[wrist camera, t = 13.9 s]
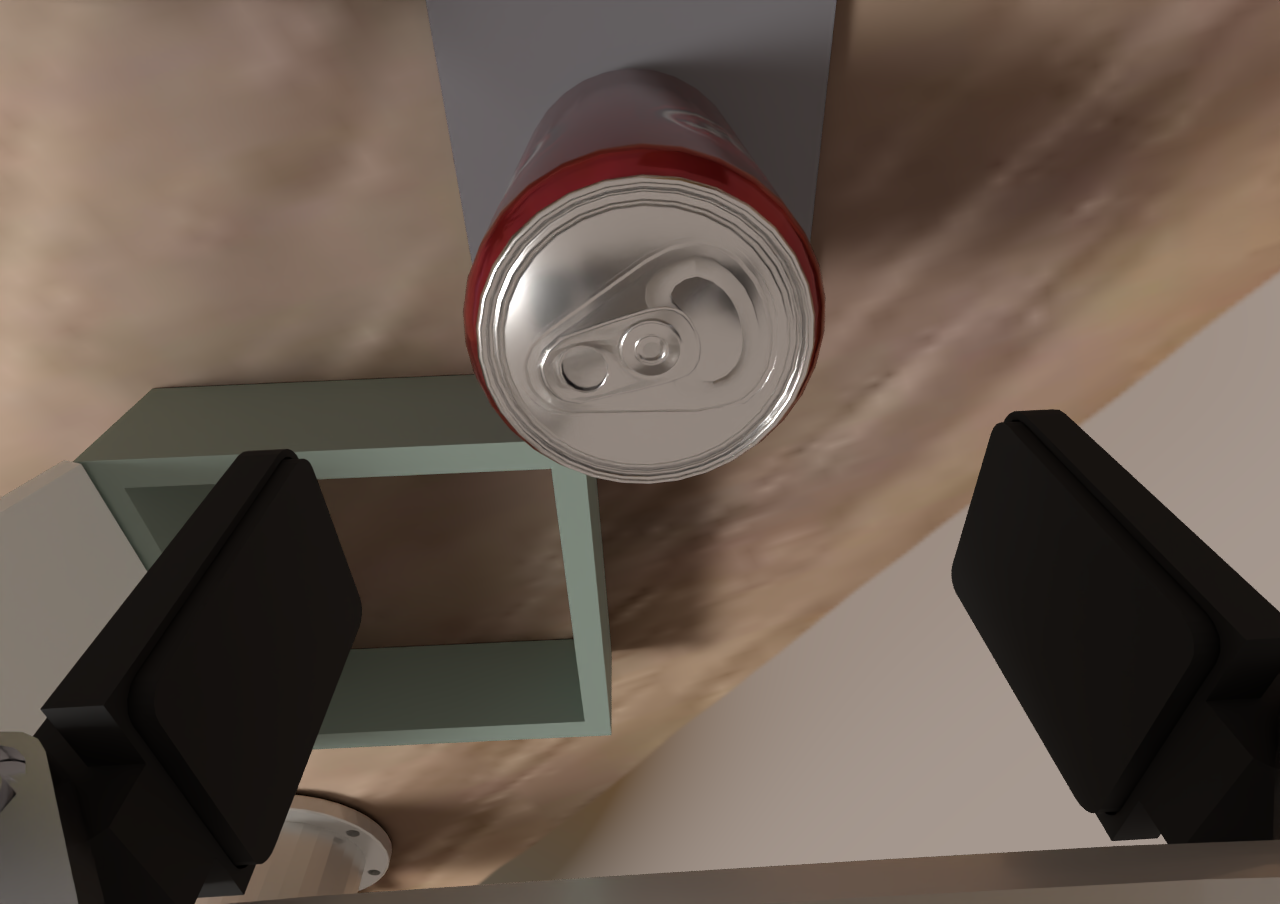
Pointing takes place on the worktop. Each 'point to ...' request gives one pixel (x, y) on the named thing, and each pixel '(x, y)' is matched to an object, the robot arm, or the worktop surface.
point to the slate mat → (639, 39)
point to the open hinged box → (336, 448)
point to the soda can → (642, 287)
